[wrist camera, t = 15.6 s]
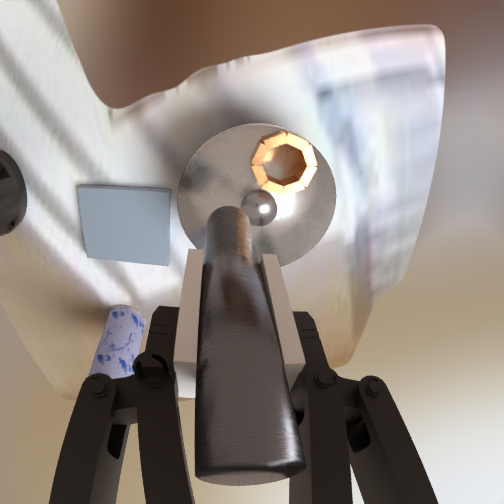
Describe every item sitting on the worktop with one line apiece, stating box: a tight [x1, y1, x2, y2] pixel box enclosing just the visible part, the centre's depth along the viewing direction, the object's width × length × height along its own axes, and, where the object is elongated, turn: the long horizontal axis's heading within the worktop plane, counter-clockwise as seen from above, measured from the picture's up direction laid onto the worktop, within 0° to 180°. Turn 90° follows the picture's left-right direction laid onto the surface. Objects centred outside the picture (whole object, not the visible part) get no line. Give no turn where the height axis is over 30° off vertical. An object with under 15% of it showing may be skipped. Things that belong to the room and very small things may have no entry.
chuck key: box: [195, 206, 307, 486], centre depth 13 cm, size 3×3×16 cm
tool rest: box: [77, 185, 171, 266], centre depth 38 cm, size 14×12×1 cm
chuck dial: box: [177, 123, 336, 267], centre depth 31 cm, size 18×18×4 cm
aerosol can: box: [88, 305, 146, 379], centre depth 41 cm, size 8×8×20 cm
